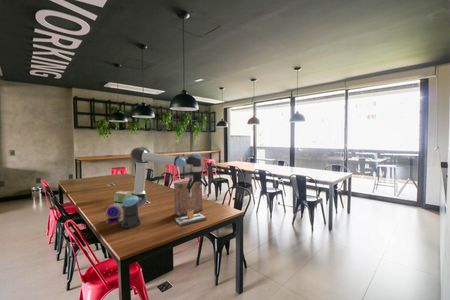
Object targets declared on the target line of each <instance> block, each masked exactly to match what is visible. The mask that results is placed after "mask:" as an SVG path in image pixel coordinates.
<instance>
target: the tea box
mask: <svg viewBox="0 0 450 300" xmlns="http://www.w3.org/2000/svg"><path fill="white" fill-rule="evenodd" d="M130 195H132V191H126V190H119V191H116V192H113V199H114V200H113V202H114V203H113V204H118V205H120V206H121V207H122V208H123V199H124V198H125V197H127V196H130Z"/></svg>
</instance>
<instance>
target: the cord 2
mask: <svg viewBox="0 0 450 300" xmlns="http://www.w3.org/2000/svg"><path fill="white" fill-rule="evenodd" d="M204 221H207V217H205V218H202V219H198V220H194V221H190V222H186V223H181V225H180V226H181V227H184V226H187V225H192V224H196V223H200V222H204Z"/></svg>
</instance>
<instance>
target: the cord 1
mask: <svg viewBox="0 0 450 300" xmlns="http://www.w3.org/2000/svg"><path fill="white" fill-rule="evenodd" d="M194 214H199V212H195V213H193V215H194ZM185 216H187V215H183V216H176V217H174V218H173V219H174V221H176V218H181V217H185Z"/></svg>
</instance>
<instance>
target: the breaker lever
mask: <svg viewBox="0 0 450 300" xmlns="http://www.w3.org/2000/svg"><path fill="white" fill-rule="evenodd" d="M187 217H188V218H189V219H190V218H194V216H193V210H192V209H189V210H187Z"/></svg>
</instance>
